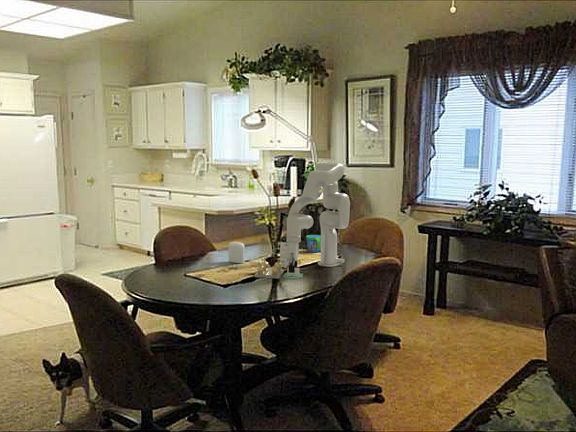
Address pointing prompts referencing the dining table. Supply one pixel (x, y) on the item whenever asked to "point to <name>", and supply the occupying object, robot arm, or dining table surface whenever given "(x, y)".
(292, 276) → the circuit board
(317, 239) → the snack cup
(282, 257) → the ink cartridge box
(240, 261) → the photo printer
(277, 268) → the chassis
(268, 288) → the dining table surface
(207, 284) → the dining table surface
